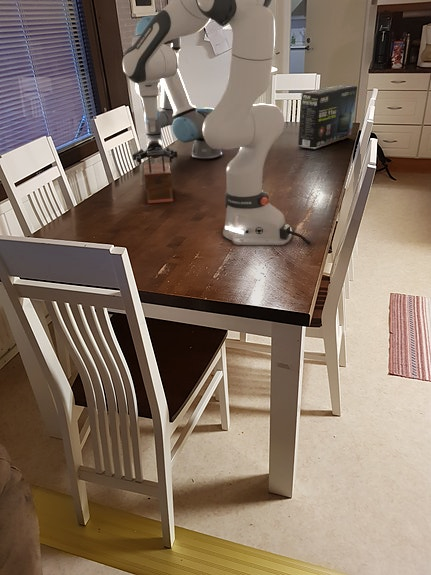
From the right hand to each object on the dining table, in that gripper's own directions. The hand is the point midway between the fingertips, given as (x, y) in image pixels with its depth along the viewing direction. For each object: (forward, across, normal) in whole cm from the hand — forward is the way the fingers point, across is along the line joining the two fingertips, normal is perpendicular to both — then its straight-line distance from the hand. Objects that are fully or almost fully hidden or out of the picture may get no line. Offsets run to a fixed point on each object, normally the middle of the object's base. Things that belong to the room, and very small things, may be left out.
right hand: (152, 128), depth 165 cm
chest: (+27, -4, 0) cm, 27 cm away
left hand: (+20, -31, 0) cm, 37 cm away
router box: (+27, -67, +90) cm, 115 cm away
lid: (+16, -4, 0) cm, 17 cm away
